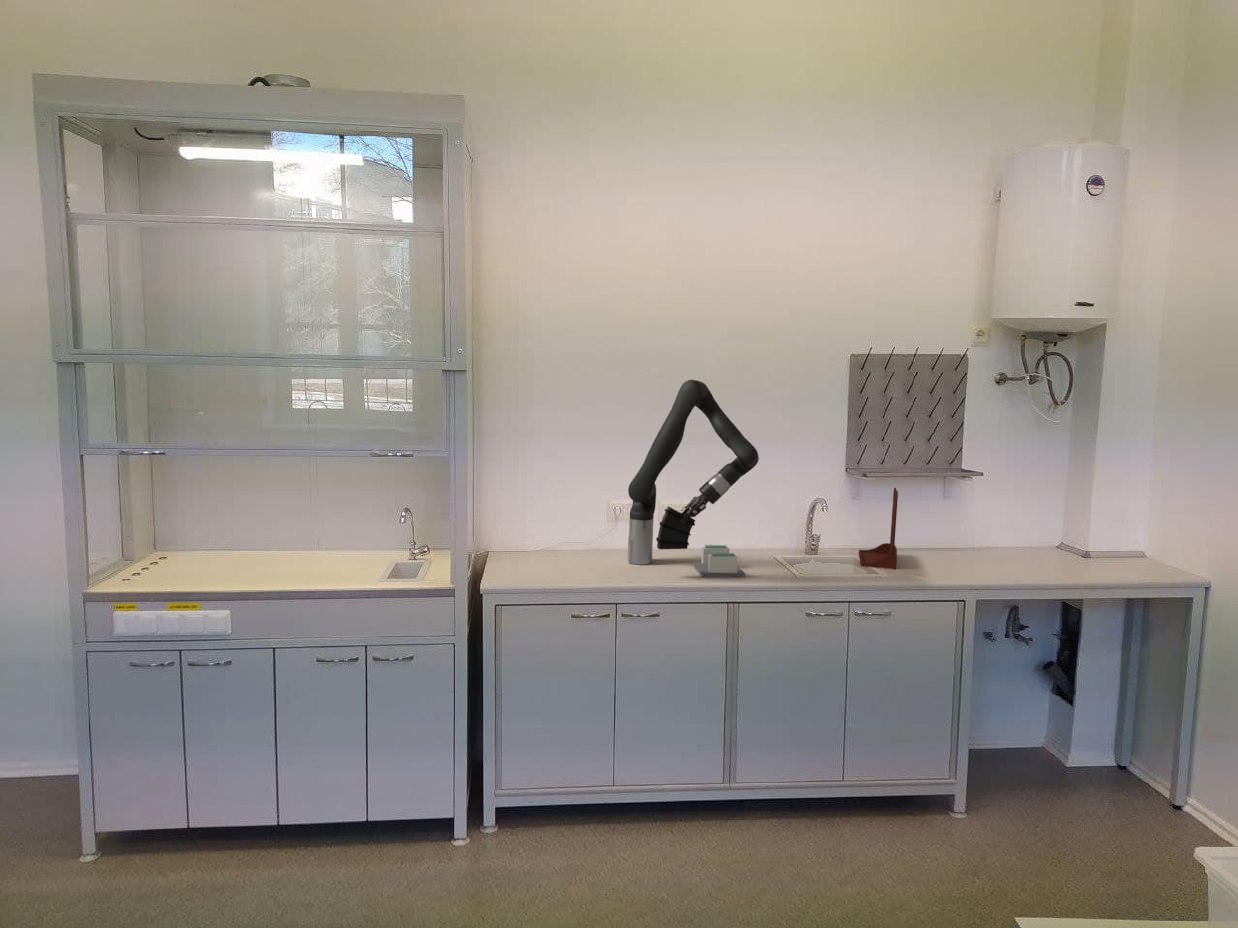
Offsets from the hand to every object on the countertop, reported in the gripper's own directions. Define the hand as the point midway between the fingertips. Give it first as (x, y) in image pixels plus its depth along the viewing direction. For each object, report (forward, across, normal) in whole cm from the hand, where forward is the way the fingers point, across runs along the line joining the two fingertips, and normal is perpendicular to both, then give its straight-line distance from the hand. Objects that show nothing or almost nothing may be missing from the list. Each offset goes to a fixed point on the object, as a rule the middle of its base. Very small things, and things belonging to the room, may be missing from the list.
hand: (680, 520), depth 277 cm
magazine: (+8, 0, +6) cm, 10 cm away
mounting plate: (+3, -7, +26) cm, 27 cm away
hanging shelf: (-46, -26, +75) cm, 92 cm away
